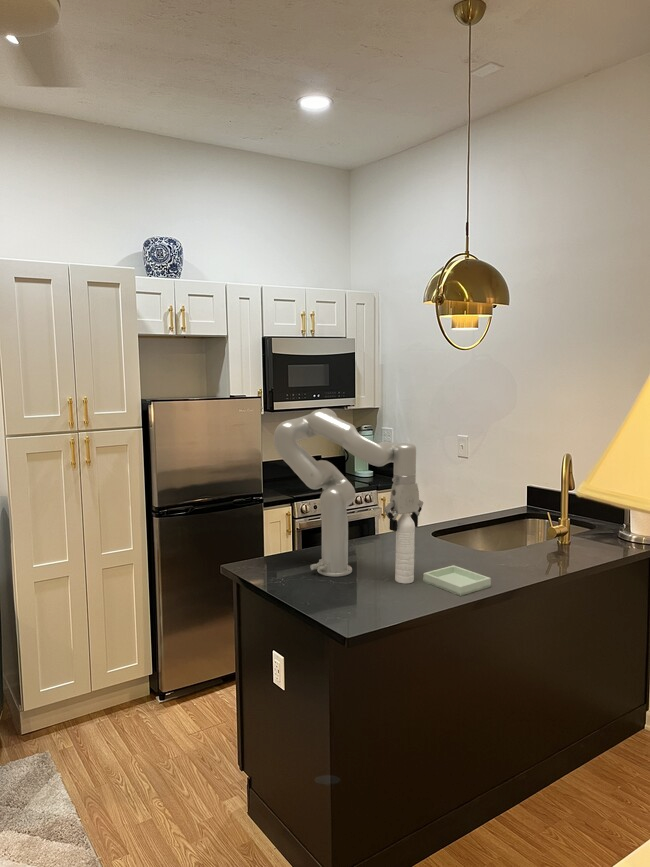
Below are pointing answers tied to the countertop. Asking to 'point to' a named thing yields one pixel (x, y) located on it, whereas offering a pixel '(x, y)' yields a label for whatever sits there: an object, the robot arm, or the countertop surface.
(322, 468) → the robot arm
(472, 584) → the tray
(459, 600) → the countertop surface
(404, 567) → the water bottle
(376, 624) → the countertop surface
